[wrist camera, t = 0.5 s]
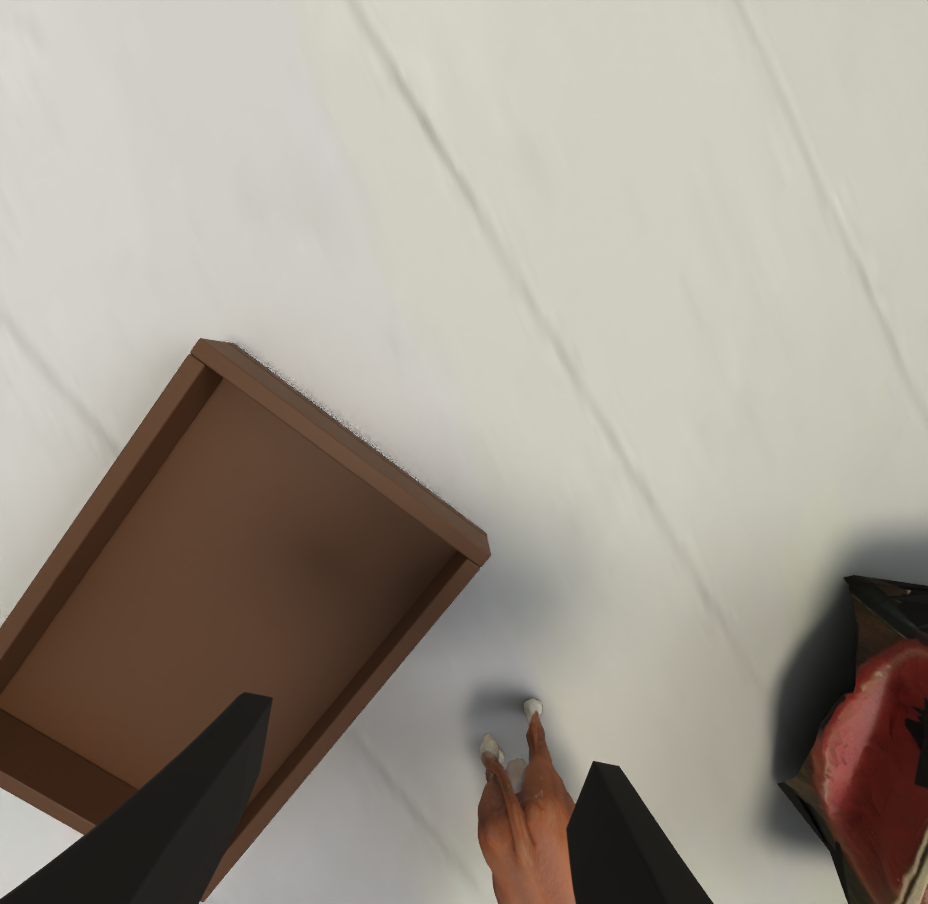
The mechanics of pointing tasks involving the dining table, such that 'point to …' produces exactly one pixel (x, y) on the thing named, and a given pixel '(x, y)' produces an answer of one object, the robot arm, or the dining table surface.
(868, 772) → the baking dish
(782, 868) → the dining table surface
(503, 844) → the bull figurine
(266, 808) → the walnut tray
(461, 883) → the dining table surface
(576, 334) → the dining table surface
